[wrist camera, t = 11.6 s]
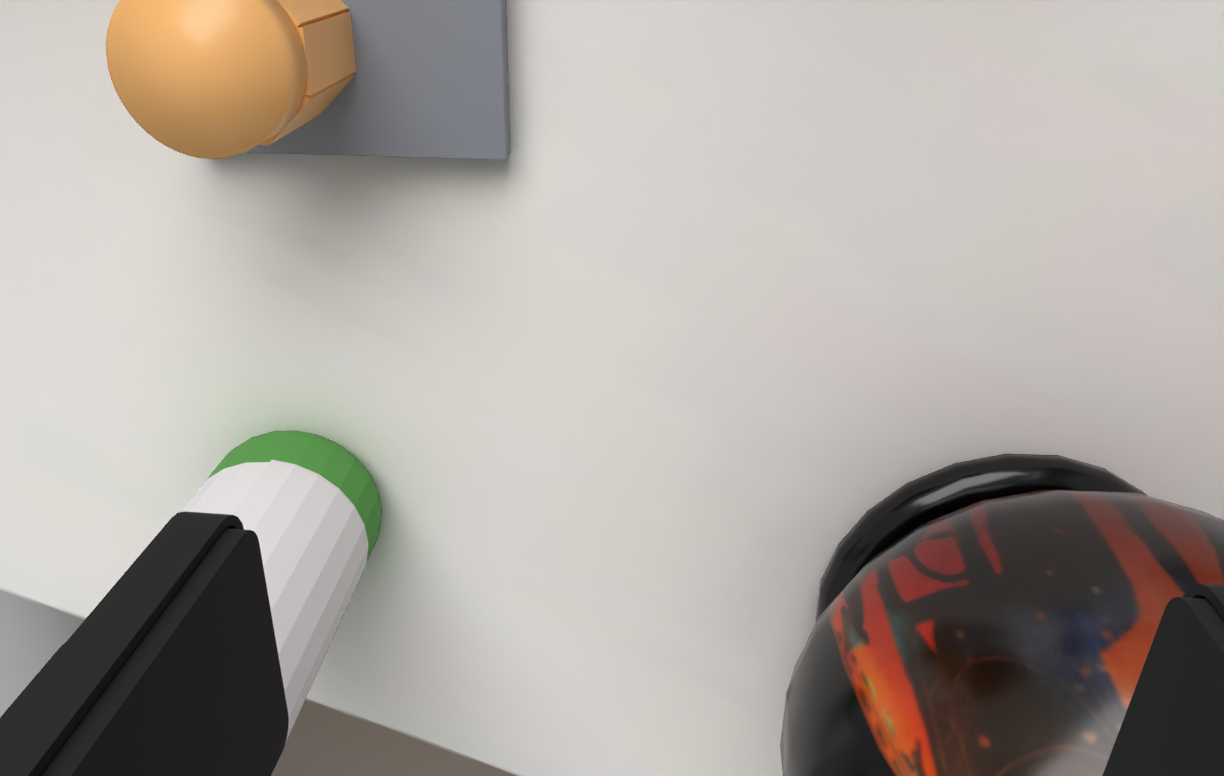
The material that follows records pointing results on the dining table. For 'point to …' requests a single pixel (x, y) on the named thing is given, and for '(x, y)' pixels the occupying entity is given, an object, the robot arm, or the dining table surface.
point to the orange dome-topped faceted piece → (228, 68)
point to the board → (417, 84)
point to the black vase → (991, 622)
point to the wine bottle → (299, 537)
